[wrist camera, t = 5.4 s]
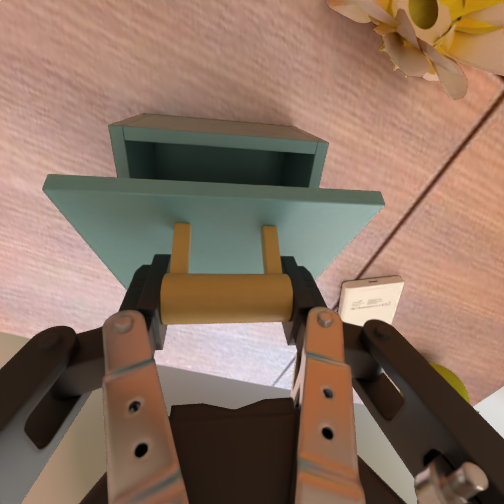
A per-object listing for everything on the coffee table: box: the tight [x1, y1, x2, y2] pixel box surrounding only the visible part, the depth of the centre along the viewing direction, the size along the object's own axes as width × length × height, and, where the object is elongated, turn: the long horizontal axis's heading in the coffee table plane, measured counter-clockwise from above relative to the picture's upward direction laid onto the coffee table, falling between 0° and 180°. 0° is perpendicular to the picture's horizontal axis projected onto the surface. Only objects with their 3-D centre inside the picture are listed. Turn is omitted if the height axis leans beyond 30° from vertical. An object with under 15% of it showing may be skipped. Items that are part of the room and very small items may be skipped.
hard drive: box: [338, 276, 405, 326], centre depth 38 cm, size 2×8×12 cm
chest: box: [108, 113, 329, 188], centre depth 23 cm, size 13×14×9 cm
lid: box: [42, 174, 385, 325], centre depth 16 cm, size 13×14×5 cm
